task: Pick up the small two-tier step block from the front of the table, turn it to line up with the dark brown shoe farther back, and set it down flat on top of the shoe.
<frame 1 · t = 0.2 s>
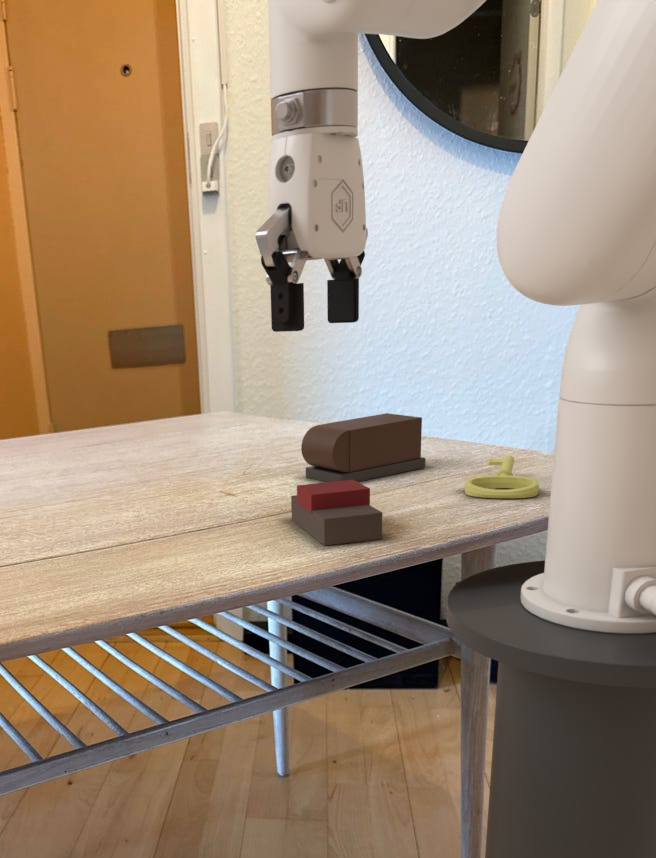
hand: (316, 326, 87), 18 cm above the table, tool pointing down, fingers open, 9 cm apart
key: (502, 489, 99), on the table
two-tier step block: (334, 529, 87), on the table
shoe: (365, 472, 110), on the table
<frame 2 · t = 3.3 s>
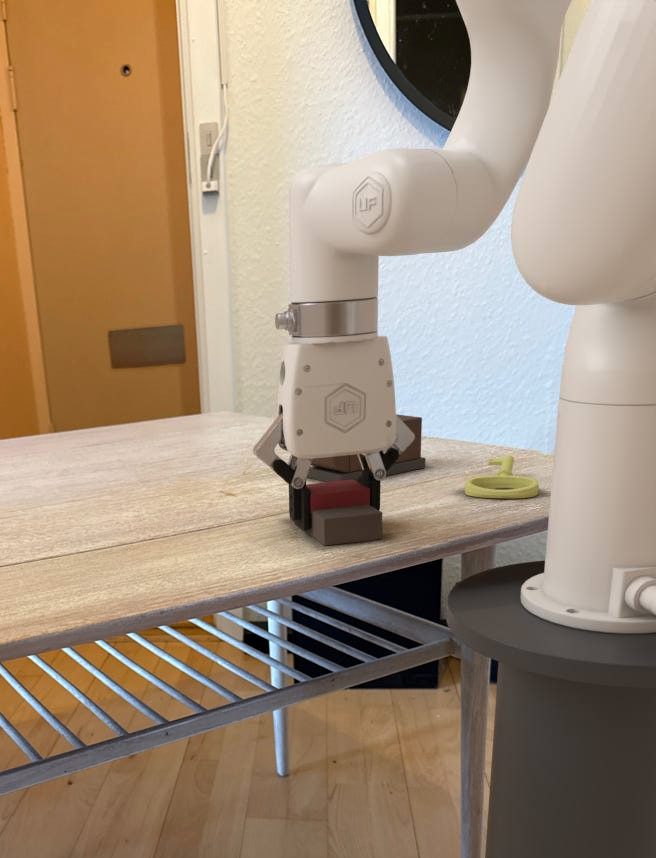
hand: (334, 521, 87), 1 cm above the table, tool pointing down, fingers closed on two-tier step block, 5 cm apart
two-tier step block: (334, 529, 87), on the table, touching gripper
everything else where it was.
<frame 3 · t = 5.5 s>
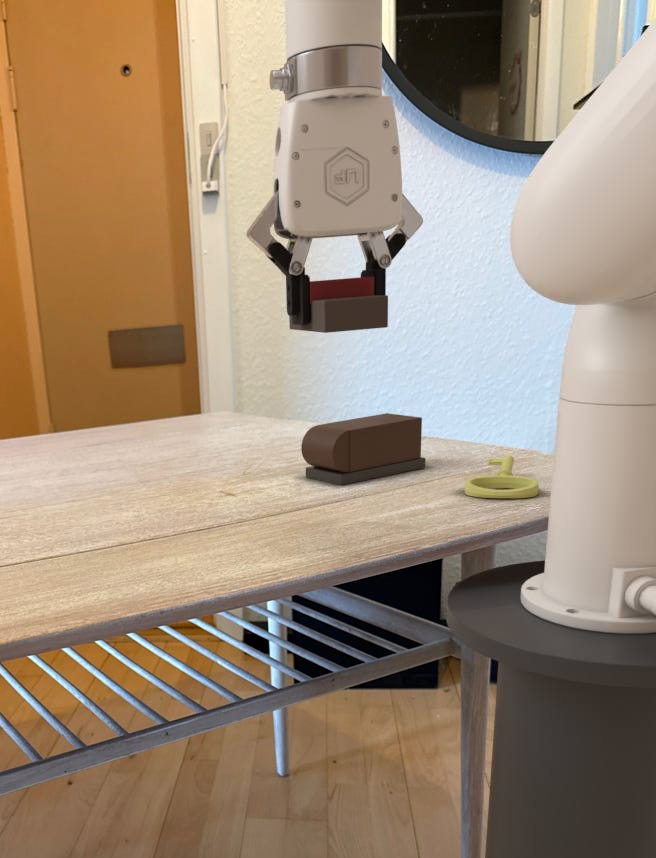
hand: (336, 319, 80), 19 cm above the table, tool pointing down, fingers closed on two-tier step block, 5 cm apart
two-tier step block: (336, 328, 80), point 18 cm above the table, touching gripper
everything else where it was.
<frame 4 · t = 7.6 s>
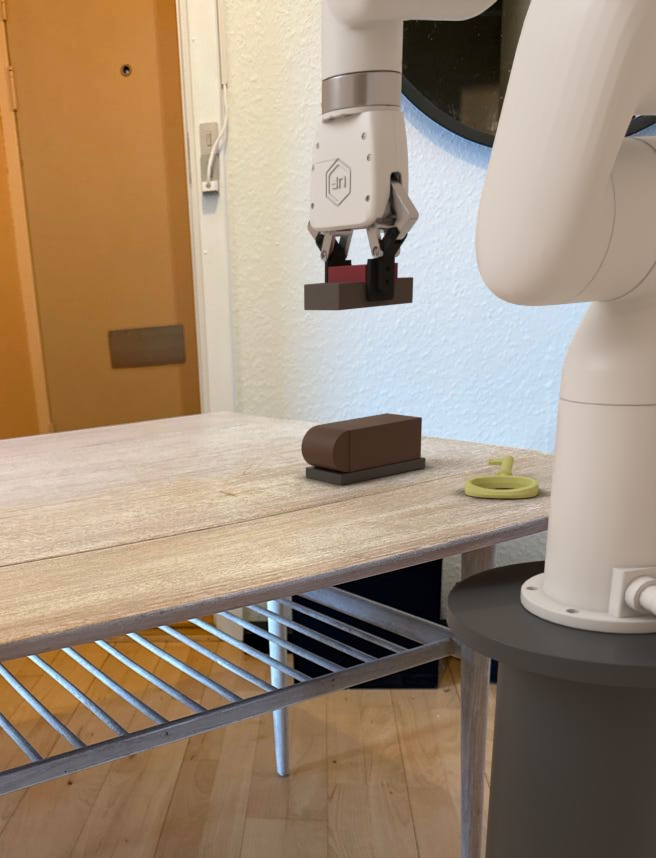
hand: (358, 298, 95), 20 cm above the table, tool pointing down, fingers closed on two-tier step block, 5 cm apart
two-tier step block: (358, 306, 95), point 19 cm above the table, touching gripper
everything else where it was.
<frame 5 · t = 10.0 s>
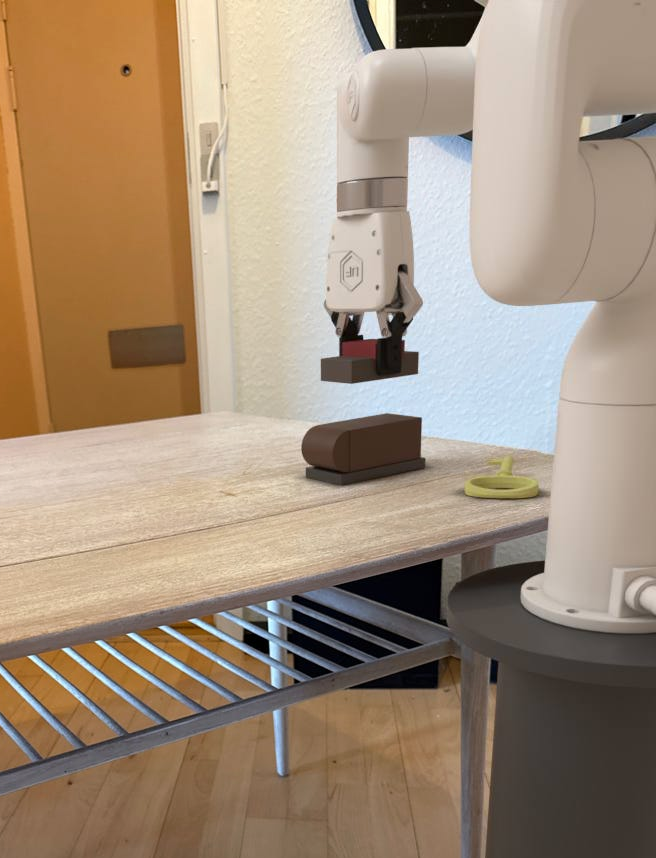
hand: (369, 371, 106), 12 cm above the table, tool pointing down, fingers closed on two-tier step block, 5 cm apart
two-tier step block: (369, 377, 106), point 11 cm above the table, touching gripper
everything else where it was.
when the fingers open (7 cm above the table, at t = 11.7 s): two-tier step block stays where it is, resting on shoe.
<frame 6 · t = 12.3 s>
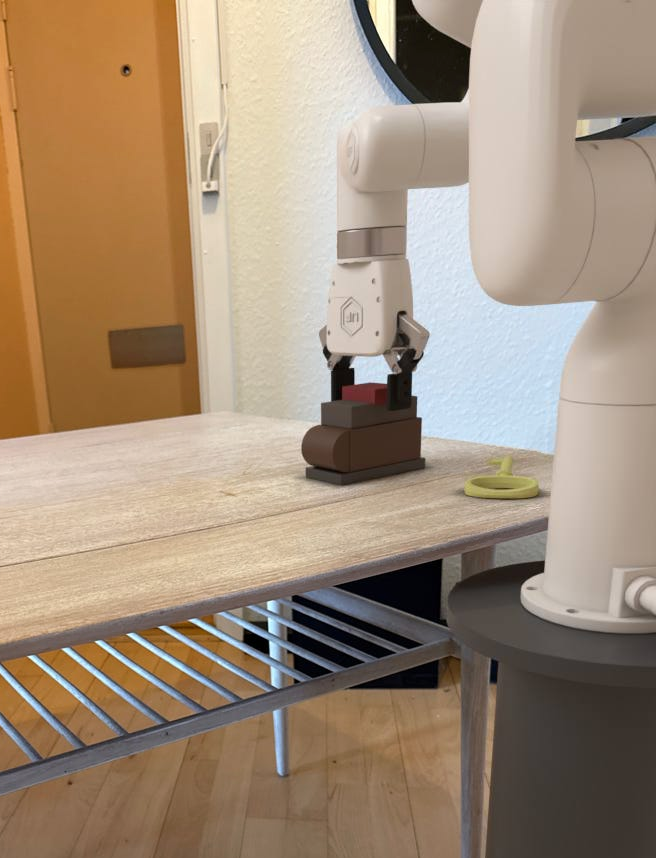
hand: (369, 406, 107), 8 cm above the table, tool pointing down, fingers open, 9 cm apart
two-tier step block: (368, 421, 108), point 6 cm above the table, touching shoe
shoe: (365, 472, 110), on the table, touching two-tier step block
everything else where it was.
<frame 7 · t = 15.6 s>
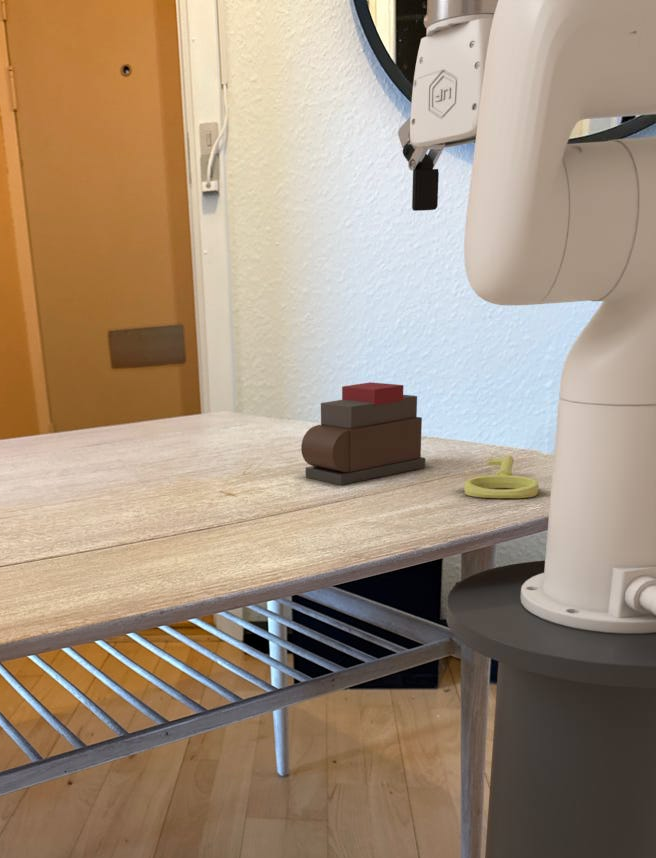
hand: (458, 205, 96), 28 cm above the table, tool pointing down, fingers open, 9 cm apart
nothing on the table moved.
at the end: two-tier step block 0.6 cm off-centre on the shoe, point 6.0 cm above the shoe's base; two-tier step block tilted 0°; the gripper is holding nothing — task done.
